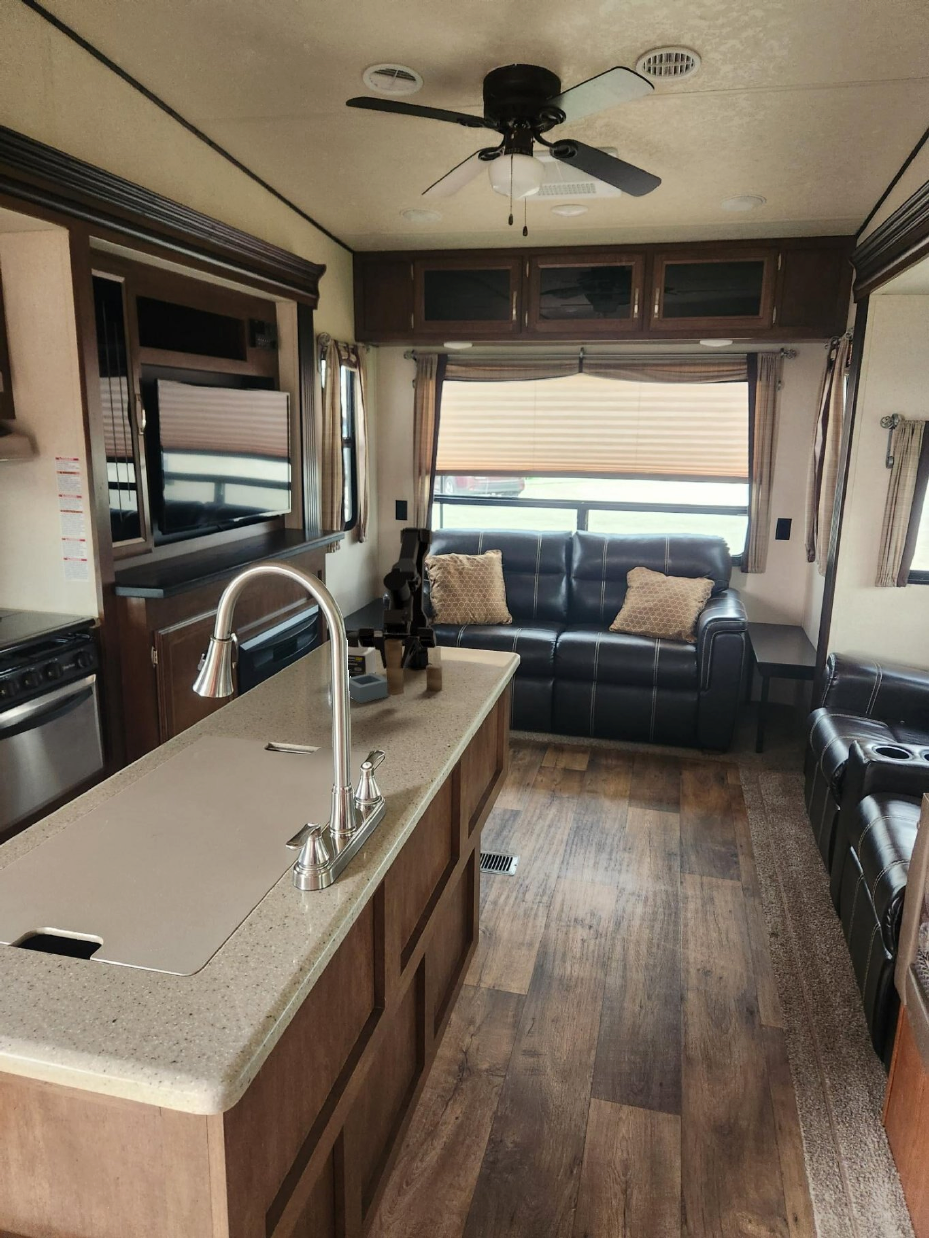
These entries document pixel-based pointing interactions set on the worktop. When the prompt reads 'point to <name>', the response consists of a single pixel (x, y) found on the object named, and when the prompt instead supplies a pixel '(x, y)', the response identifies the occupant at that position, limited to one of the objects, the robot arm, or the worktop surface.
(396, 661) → the tall pin
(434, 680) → the short pin
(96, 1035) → the worktop surface
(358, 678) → the socket block
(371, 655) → the medicine bottle
